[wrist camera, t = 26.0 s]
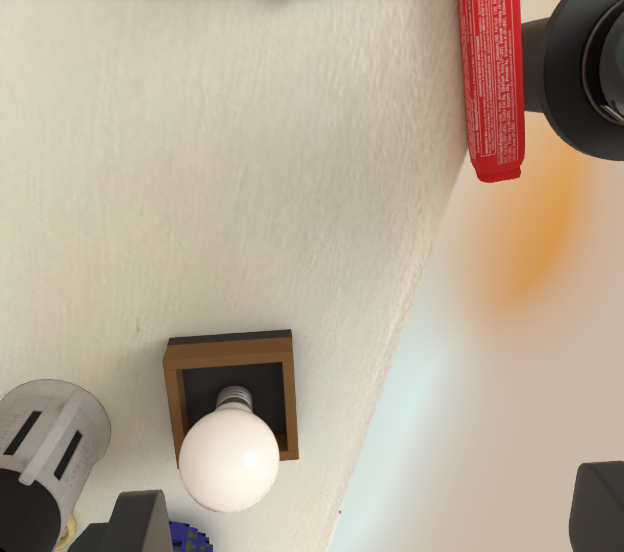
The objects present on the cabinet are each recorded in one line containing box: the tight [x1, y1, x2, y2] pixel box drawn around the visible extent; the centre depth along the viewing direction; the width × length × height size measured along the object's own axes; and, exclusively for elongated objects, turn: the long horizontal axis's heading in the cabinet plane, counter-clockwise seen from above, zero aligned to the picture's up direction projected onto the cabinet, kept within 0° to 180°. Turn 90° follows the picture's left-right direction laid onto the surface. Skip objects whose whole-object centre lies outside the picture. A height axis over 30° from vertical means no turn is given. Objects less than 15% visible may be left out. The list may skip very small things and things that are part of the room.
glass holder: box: [0, 379, 111, 552], centre depth 37 cm, size 9×14×15 cm, turn 145°
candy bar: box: [458, 0, 525, 183], centre depth 38 cm, size 16×4×3 cm, turn 9°
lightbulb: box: [179, 385, 279, 513], centre depth 39 cm, size 6×6×11 cm
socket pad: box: [163, 330, 299, 469], centre depth 44 cm, size 9×9×4 cm
